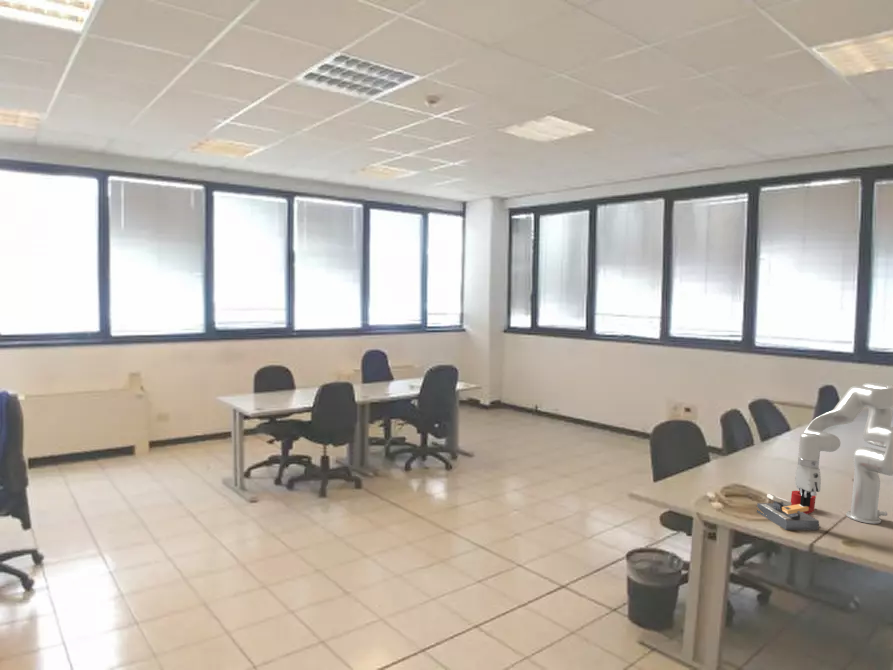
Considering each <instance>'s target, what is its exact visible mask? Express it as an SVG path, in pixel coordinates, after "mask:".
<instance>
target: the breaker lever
mask: <svg viewBox="0 0 893 670" xmlns="http://www.w3.org/2000/svg"><path fill="white" fill-rule="evenodd" d="M782 511H784V512H785V513H787V514H793V513H800V512H804V511H809V508H808V506H802V505H800V504H796V505H791V506H785V507H782Z"/></svg>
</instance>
